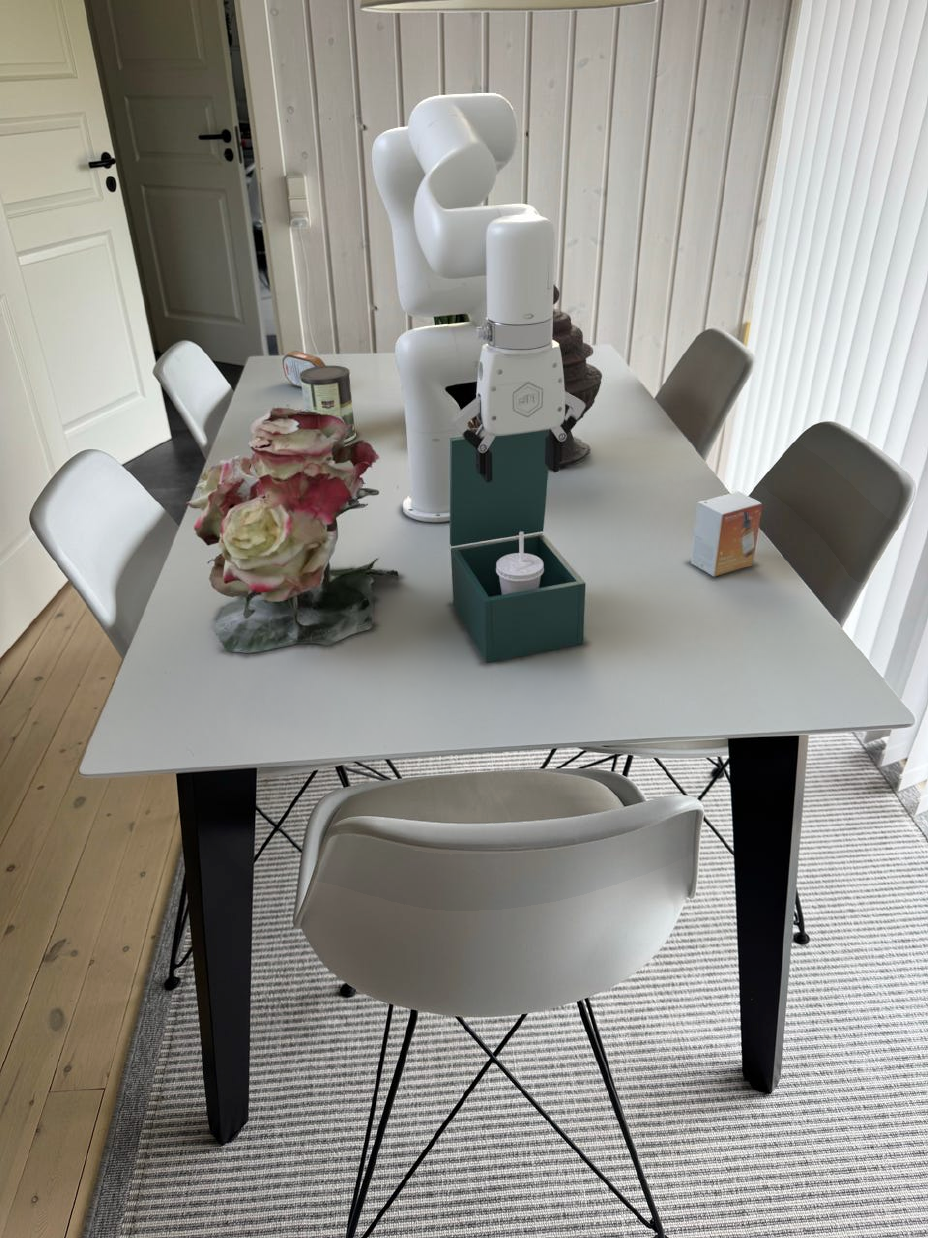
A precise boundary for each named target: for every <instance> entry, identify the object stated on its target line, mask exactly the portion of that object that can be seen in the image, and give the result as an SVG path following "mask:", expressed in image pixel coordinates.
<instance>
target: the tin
mask: <svg viewBox="0 0 928 1238" xmlns="http://www.w3.org/2000/svg"><path fill="white" fill-rule="evenodd" d="M318 366H327V364H325V362H324V361H323V359H321V357H319V356H317V355H313V354H309V353H305V352H302V351H298V350H293V351H292V352H289V353H287V354H285V355H284V357H283V359H282V368H283V372H284V376H285V378H286V379H287V380H288V383H290V384H291V385H293V386H294V387H298V388H301V389H302V385H301V379H300V373H301V372H302V371H304V370H306V369H309V368H313V367H318Z"/></svg>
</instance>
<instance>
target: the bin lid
mask: <svg viewBox="0 0 928 1238" xmlns="http://www.w3.org/2000/svg"><path fill="white" fill-rule="evenodd" d="M470 429H471V430H472V431H473V432H474V433H476V432H477V430H478V429H479V427H472V428H470ZM547 434H549V430H543V431H536V432H529V433H521V434H514V435H506V436H496V437H495V438H494V440H493V441H492V443H491V445H490V446H489V450H490V451H491V452H492V481H491V482H488V483H486V481H485V480H484V479H483V477H482V476H481V475H480V474H478V473H477V470H476V448H475V447H474V446H473V445H471V444H470V443H469V442H468V441H467V440H466V439H465V438H464V437H463V436H462V437H455V438H450V521H449V545H450V547H451V548H453V547H459V546H465V545H471V544H477V543H483V542H489V541H495V540H501V539H507V538H513V537H519V532H524V535H532V534H538V533H543V532H544V531H545V530H544V529H545V516H546V506H547V505H546V504H547V496H548V495H547V493H548V481H549V480H548V479H549V473H550V471H549V470H550V469H549V468H548V467H547V465H546V464H545V437H547Z"/></svg>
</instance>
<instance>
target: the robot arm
mask: <svg viewBox="0 0 928 1238" xmlns="http://www.w3.org/2000/svg"><path fill="white" fill-rule="evenodd" d="M518 141H519V125H518V119H517V116H516V112H515V110H514V108H513V106H512V105H511V103H510V102H509V101H508V99H507V98H506V97H504V96H502V95H501V94H497V93H493V92H481V93H460V94H459V93H458V94H457V93H456V94H442V95H441V94H440V95H434V96H431V97H430V96H429V97H427V98H426V99H423V100H422V101H420V102H419V103H418V104H417V105H416V106H415V107H414V108H413V110H412V111H411V113H410V115H409V118H408V122H407V126H401V127H396V128H395V127H394V128H391V129H388V130H386V131H383V132H382V133H380V134H379V135H378V136H377V137H376V138H375V140H374V142H373V144H372V150H371V165H372V171H373V177H374V181H375V185H376V189H377V191H378V194H379V197H380V199H381V201H382V203H383V206H384V209H385V211H386V214H387V216H388V219H389V222H390V227H391V233H392V244H393V254H394V265H395V275H396V283H397V284H396V285H397V293H398V299H399V303H400V306H401V308H402V310H403V312H404V313H405V314H406V315H408V316H409V317H413V318H434V317H444V316H455V315H467V316H468V319H469V321H466V322H465V321H464V322H456V323H449V324H448V323H444V324H435V325H426V326H419V327H415V328H414V327H413V328H411V329H409V330H406V331H405V332H403V333H402V334H401V335H400V336H399V337H397V340H396V343H395V347H394V357H395V364H396V368H397V372H398V376H399V381H400V386H401V391H402V398H403V407H404V408H403V409H404V419H405V420H404V421H405V431H406V445H407V447H406V448H407V449H406V450H407V461H408V476H409V477H408V478H409V491H410V494H409V495H408V496H407V497H405V499H404V500H403V502H402V510H403V513H404V514H405V515H406V516H407V517H409V518H410V519H412V520H416V521H419V522H425V523H446V522H450V438H455V437H462V436H463V437H464V438H465V439H466V440H467V441H468V442H469V443H470V444H471V445H473V446H474V447H475V448H476V470H477V473H478V474H480V475H481V476H482V477H483V479H484V480H485V481H486V483H488V482H491V481H492V452H491V451H490V450H489V446H490V445H491V443H492V441H493V440H494V438H495V437H496V436H506V435H514V434H521V433H529V432H536V431H543V430H549V434H547V437H545V464H546V465H547V467H548V468H549V470H550V471H551V472H553V473H554V474H555V473H559V472H560V468H559V463H560V462H562V443H563V441H565V440H566V437H567V434H568V433H569V432H570V431H571V432H572V430H573V428H574V427H575V426H576V425H577V423H578V422H577V419H578V418H579V417H580V415H581V414H582V412H583V410H584V409H585V407H586V405H585V403H584V402H582V401H581V400H580V399H578V398H576V397H574V396H573V395H571V394H569V393H567V392H566V391H565V389H564V375H563V365H562V357H561V351H560V346H559V343H557V342H555V341H554V340H552V331H553V308H554V305H553V285H555V284H554V283H555V282H554V280H555V245H556V242H555V241H556V237H555V235H556V234H555V227H554V225H553V223H552V222H551V220H550V219H548V218H547V217H544V216H541V215H540V213H539V212H538V210H537V209H536V208H535V207H534V206H532V205H530V204H525V203H510V204H497V205H494V204H490V205H480V204H482V203H483V202H484V201H485V200H486V199H487V198H488V197H489V195H490V194H491V193H492V190H493V189H494V186H495V183H496V180H497V175H498V174H499V173H501V172H502V170H503V169H505V168H506V166H507V165H508V164H509V163H510V161H511V160H512V158H513V157H514V155H515V153H516V150H517V146H518ZM469 383H476V393H475V395H476V397H475V398H474V399H473V400H471V402H470V403H468V404H467V405H466V406H465V407H463V408H462V409H461V408H460V406H459V403H458V402H457V400H455V398H454V397H453V396H452V395H451V394H449V392H448V391H446V388H447V387H450V386H455V385H461V384H469ZM565 404H566V405H568V406H569V410H568V412H567V414H565ZM475 417H476V420H477V422H478V423H479V424H480V425H479V427H478V428H479V429H478V430H477V432H476V433H474V432H473V431H472V430H471V429H472V428H470V426H469V422H470V421H471V420H473V419H474V418H475Z"/></svg>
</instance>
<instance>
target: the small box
mask: <svg viewBox="0 0 928 1238" xmlns="http://www.w3.org/2000/svg"><path fill="white" fill-rule="evenodd" d="M696 505H697V506H696V511H695V520H694V521H695V522H694V529H693V530H694V531H693V539H692V547H691V556H690V564H692V565H694V566H695V567H697V568H698V569H700V570H702V571H704V572H705V573H706V574H708V575H710V576H712V577H714V578H715V577H718V576H721V575H724V574H727V573H730V572H733V571H737V570H740V569H744V568H748V567H751V566H753V564H754V559H755V553H756V546H757V540H758V534H759V529H760V521H761V515H762V509H763V502H762V501H761V502H760V501H759V500H757V499H755V498H753V497H751V496H750V495H749V496H748V495H747V494H744V493H743V492H740V491H738V490H736V491H733V492H731V493H727V494H724V495H723V494H722V495H720V496H716V497H713V498H709V499H708V498H707V499H705V500H700V501H697V504H696Z"/></svg>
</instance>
